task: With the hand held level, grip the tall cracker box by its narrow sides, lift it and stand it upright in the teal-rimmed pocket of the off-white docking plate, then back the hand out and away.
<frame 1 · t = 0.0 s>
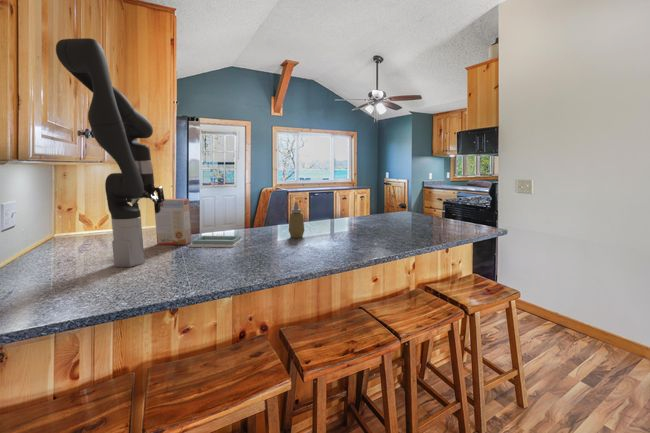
hand: (147, 212, 135), 17 cm above the counter, tool pointing down, fingers open, 8 cm apart
cracker box: (174, 244, 157), on the counter
docking plate: (217, 243, 157), on the counter
squeeze bottle: (296, 237, 171), on the counter
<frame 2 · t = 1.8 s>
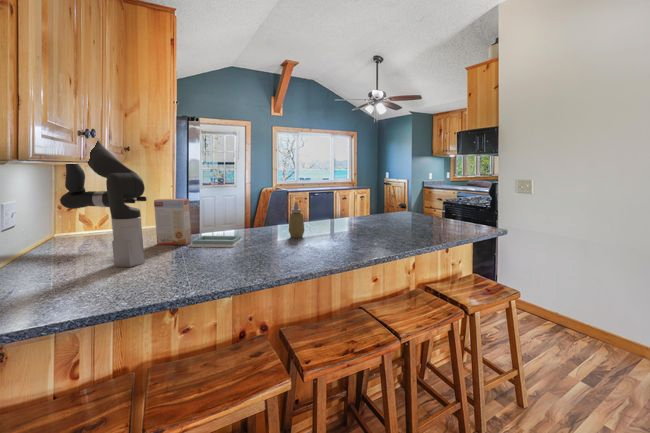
hand: (140, 199, 155), 20 cm above the counter, tool horizontal, fingers open, 8 cm apart
nothing on the counter moved.
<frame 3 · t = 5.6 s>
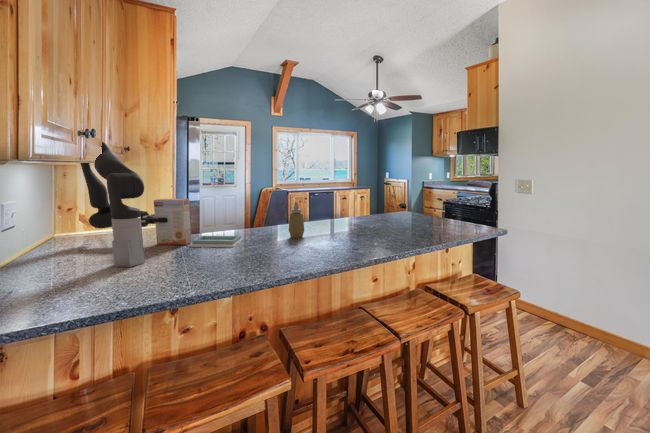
hand: (170, 219, 156), 12 cm above the counter, tool horizontal, fingers closed on cracker box, 6 cm apart
cracker box: (174, 243, 157), on the counter, touching gripper
everything else where it was.
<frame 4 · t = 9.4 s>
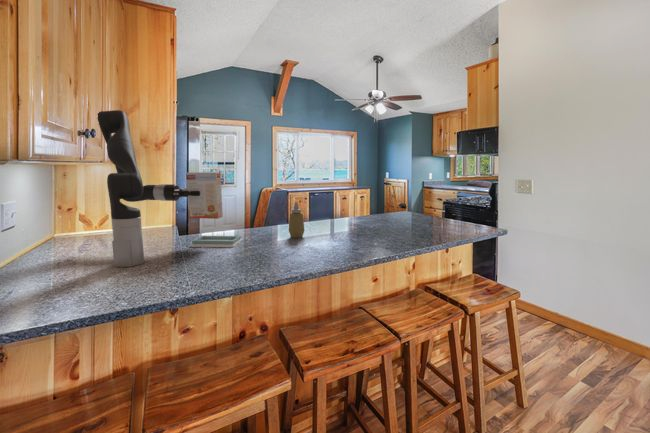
hand: (202, 192, 154), 24 cm above the counter, tool horizontal, fingers closed on cracker box, 6 cm apart
cracker box: (205, 218, 156), point 12 cm above the counter, touching gripper
everything else where it was.
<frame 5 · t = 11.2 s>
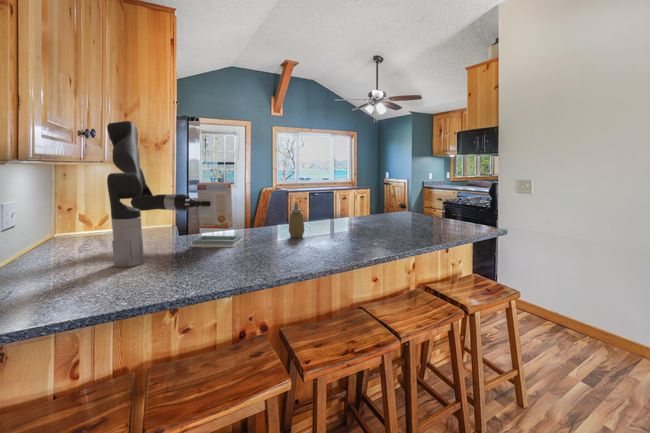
hand: (213, 202, 155), 19 cm above the counter, tool horizontal, fingers closed on cracker box, 6 cm apart
cracker box: (216, 228, 156), point 7 cm above the counter, touching gripper
everything else where it was.
when the fingers open (14 cm above the counter, at t = 12.9 s): cracker box drops 1 cm, resting on docking plate.
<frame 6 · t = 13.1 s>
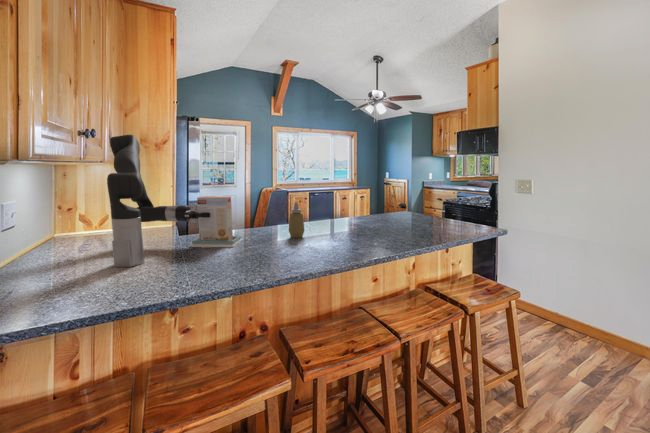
hand: (213, 213, 155), 14 cm above the counter, tool horizontal, fingers open, 7 cm apart
cracker box: (216, 241, 157), point 1 cm above the counter, touching docking plate
everything else where it was.
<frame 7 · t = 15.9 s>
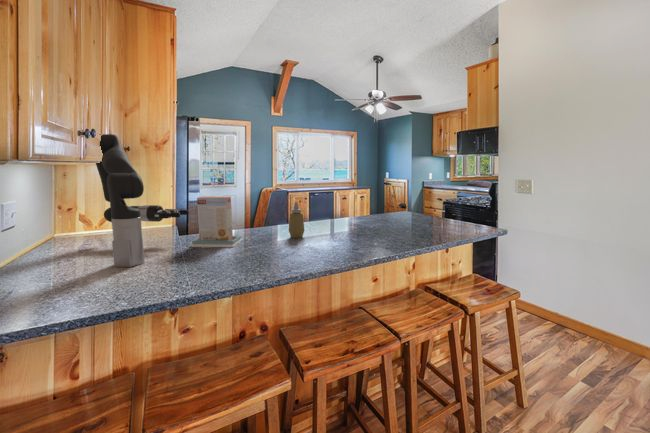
hand: (184, 213, 156), 14 cm above the counter, tool horizontal, fingers open, 8 cm apart
nothing on the counter moved.
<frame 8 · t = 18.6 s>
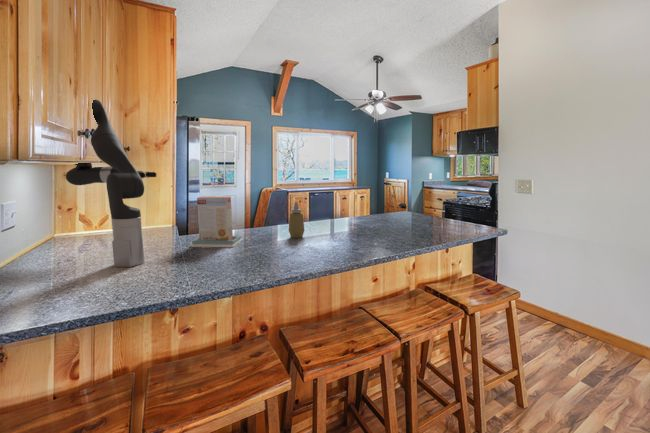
hand: (150, 174, 148), 32 cm above the counter, tool horizontal, fingers open, 8 cm apart
nothing on the counter moved.
at the end: cracker box 0.4 cm off-centre on the docking plate, point 0.8 cm above the docking plate's base; cracker box tilted 0°; the gripper is holding nothing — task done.
